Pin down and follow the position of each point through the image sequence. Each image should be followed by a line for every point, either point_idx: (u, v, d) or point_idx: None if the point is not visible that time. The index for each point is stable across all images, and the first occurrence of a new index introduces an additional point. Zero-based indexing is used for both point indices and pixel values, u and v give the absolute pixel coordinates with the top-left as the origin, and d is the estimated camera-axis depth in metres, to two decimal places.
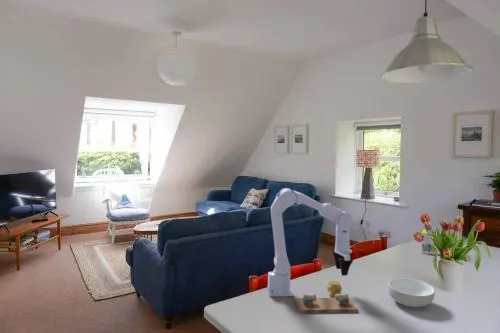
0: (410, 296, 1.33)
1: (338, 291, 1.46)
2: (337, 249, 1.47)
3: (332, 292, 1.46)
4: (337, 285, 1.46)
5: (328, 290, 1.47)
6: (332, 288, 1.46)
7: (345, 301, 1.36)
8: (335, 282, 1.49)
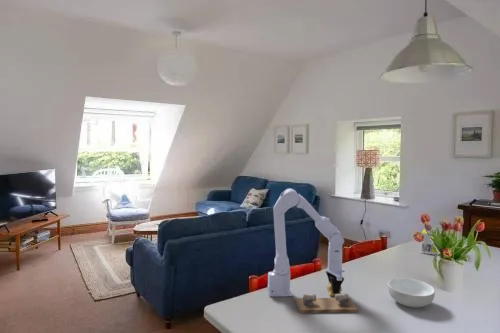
0: (410, 296, 1.33)
1: None
2: (329, 268, 1.46)
3: (332, 292, 1.46)
4: None
5: (328, 290, 1.47)
6: None
7: (345, 301, 1.36)
8: None
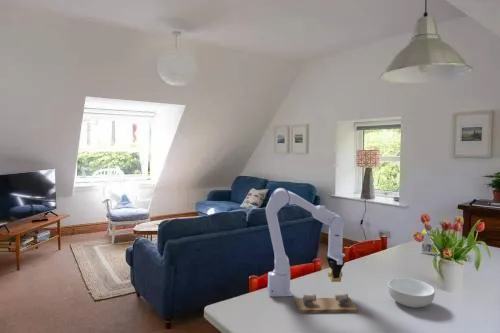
0: (410, 296, 1.33)
1: (339, 276, 1.46)
2: (330, 253, 1.46)
3: (332, 277, 1.46)
4: None
5: (329, 275, 1.47)
6: None
7: (345, 301, 1.36)
8: None
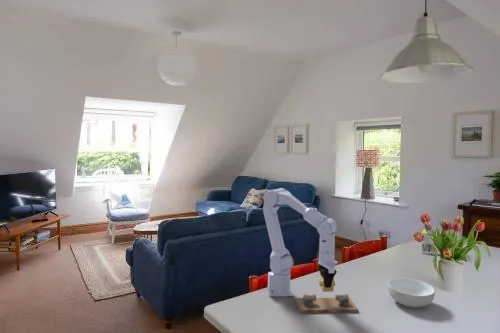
0: (410, 296, 1.33)
1: (331, 286, 1.35)
2: (321, 260, 1.35)
3: (324, 287, 1.35)
4: None
5: (320, 284, 1.36)
6: None
7: (345, 301, 1.36)
8: None
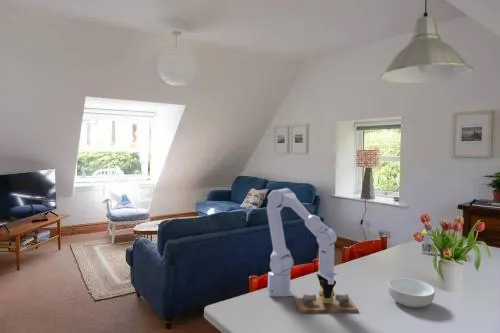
0: (410, 296, 1.33)
1: None
2: (320, 271, 1.35)
3: (324, 297, 1.35)
4: None
5: (320, 295, 1.36)
6: None
7: (345, 301, 1.36)
8: None
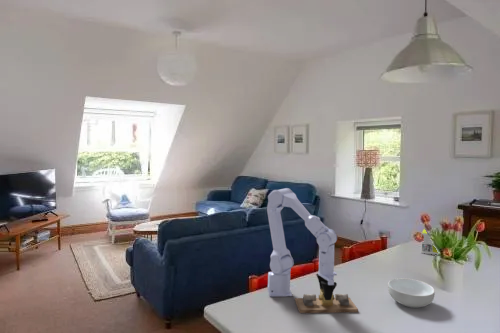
0: (410, 296, 1.33)
1: (330, 300, 1.35)
2: (320, 272, 1.35)
3: (323, 301, 1.35)
4: None
5: (319, 299, 1.36)
6: (323, 296, 1.35)
7: (345, 301, 1.36)
8: None
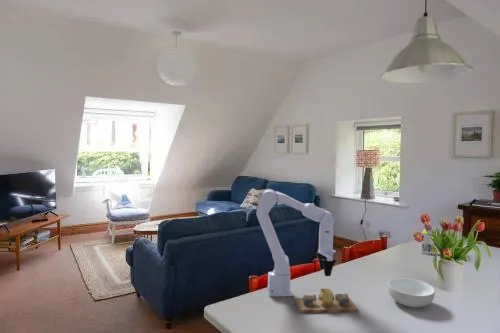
0: (410, 296, 1.33)
1: (330, 300, 1.35)
2: (320, 249, 1.46)
3: (323, 301, 1.35)
4: (329, 293, 1.35)
5: (319, 299, 1.36)
6: (323, 296, 1.35)
7: (345, 301, 1.36)
8: (327, 289, 1.38)
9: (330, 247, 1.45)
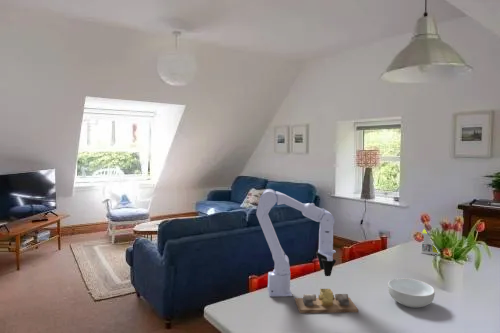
0: (410, 296, 1.33)
1: (330, 300, 1.35)
2: (320, 249, 1.46)
3: (323, 301, 1.35)
4: (329, 293, 1.35)
5: (319, 299, 1.36)
6: (323, 296, 1.35)
7: (345, 301, 1.36)
8: (327, 289, 1.38)
9: (330, 247, 1.45)
